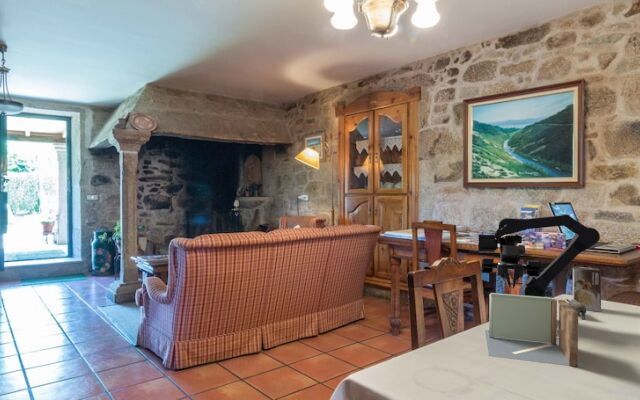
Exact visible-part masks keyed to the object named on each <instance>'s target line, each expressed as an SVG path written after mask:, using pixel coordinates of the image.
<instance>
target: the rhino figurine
mask: <svg viewBox="0 0 640 400" xmlns="http://www.w3.org/2000/svg"><path fill="white" fill-rule="evenodd" d="M566 302H567V303H568V304H569V305H570V306H571V307H572V308H573V309H574V310H575V311H576V312H578V317H582V318H581V321H587V319H586V314H587V310H586V307H585V306H584V305H583V304H581V303H580V302H578V301H576V300H575V299H573V298H572V299H571V300H570V299H568V298H566Z"/></svg>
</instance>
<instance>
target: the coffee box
mask: <svg viewBox="0 0 640 400" xmlns="http://www.w3.org/2000/svg"><path fill="white" fill-rule="evenodd" d="M572 299H575V300H576V301H578V302H580V303H581V304H583V305H584V306H585V307H586V311H591V312H598V313H600V312H602V271H601V269H600V268H597V267H584V266H572Z"/></svg>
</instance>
